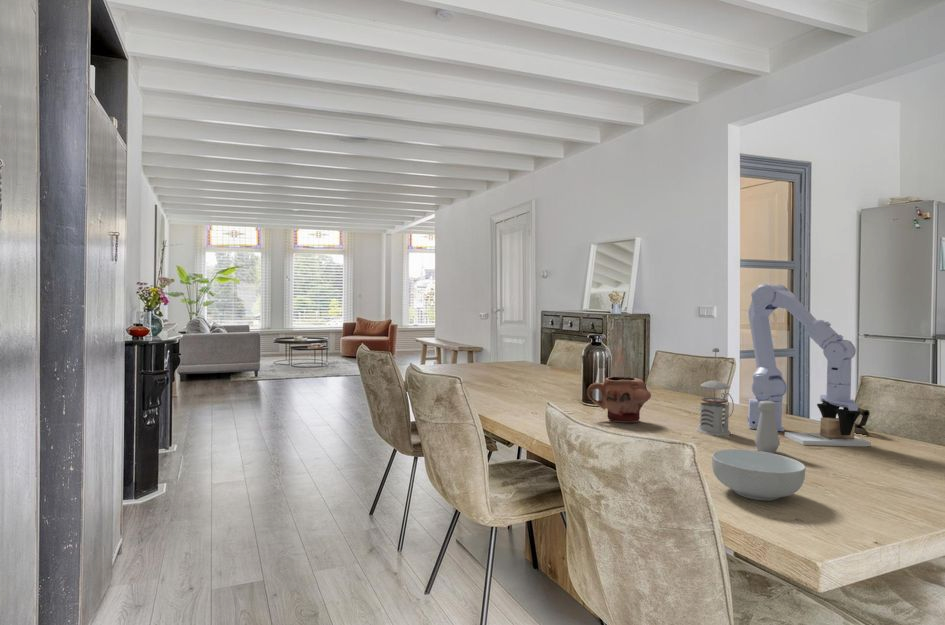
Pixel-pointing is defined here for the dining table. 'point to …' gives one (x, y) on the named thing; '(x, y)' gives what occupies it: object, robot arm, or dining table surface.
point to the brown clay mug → (621, 397)
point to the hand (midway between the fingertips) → (837, 431)
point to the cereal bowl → (758, 473)
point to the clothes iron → (862, 422)
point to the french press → (714, 409)
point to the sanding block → (833, 429)
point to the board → (824, 440)
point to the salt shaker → (767, 428)
